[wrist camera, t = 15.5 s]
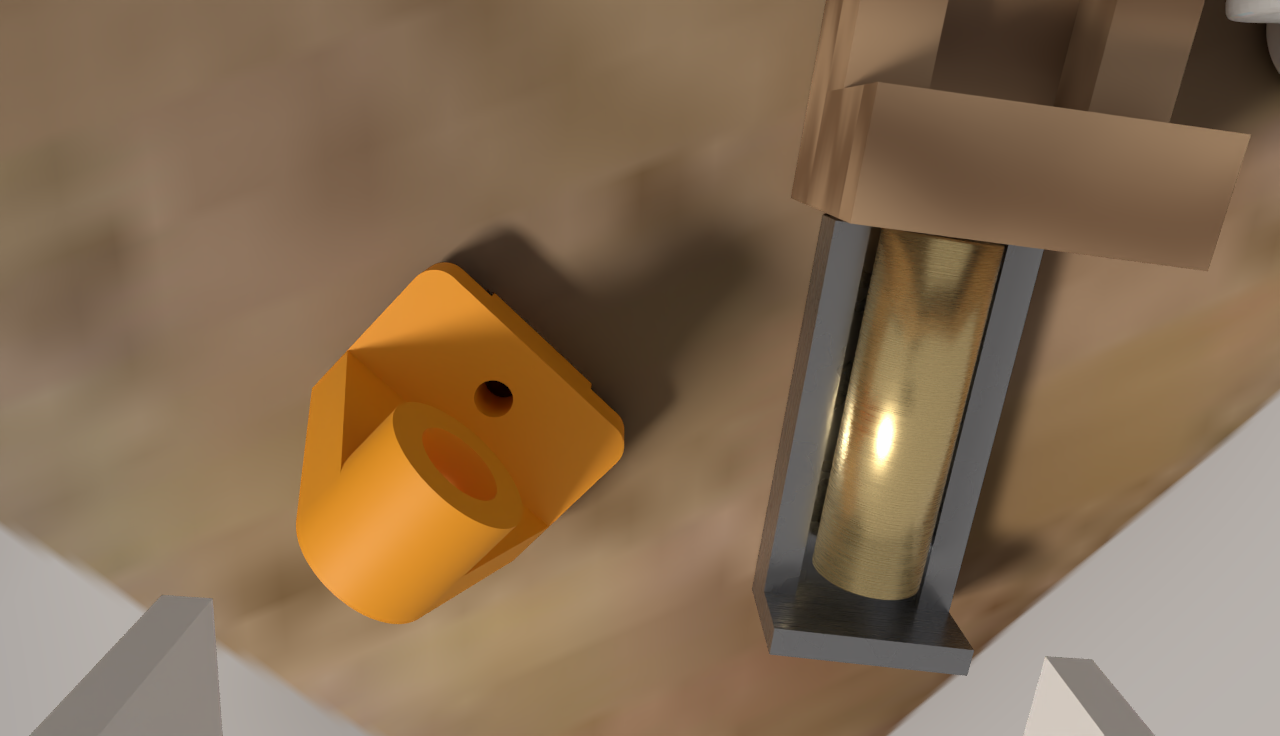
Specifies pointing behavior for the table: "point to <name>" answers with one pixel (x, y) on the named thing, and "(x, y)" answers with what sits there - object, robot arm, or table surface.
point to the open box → (1017, 126)
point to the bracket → (443, 449)
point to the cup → (1259, 20)
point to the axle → (903, 409)
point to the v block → (785, 575)
